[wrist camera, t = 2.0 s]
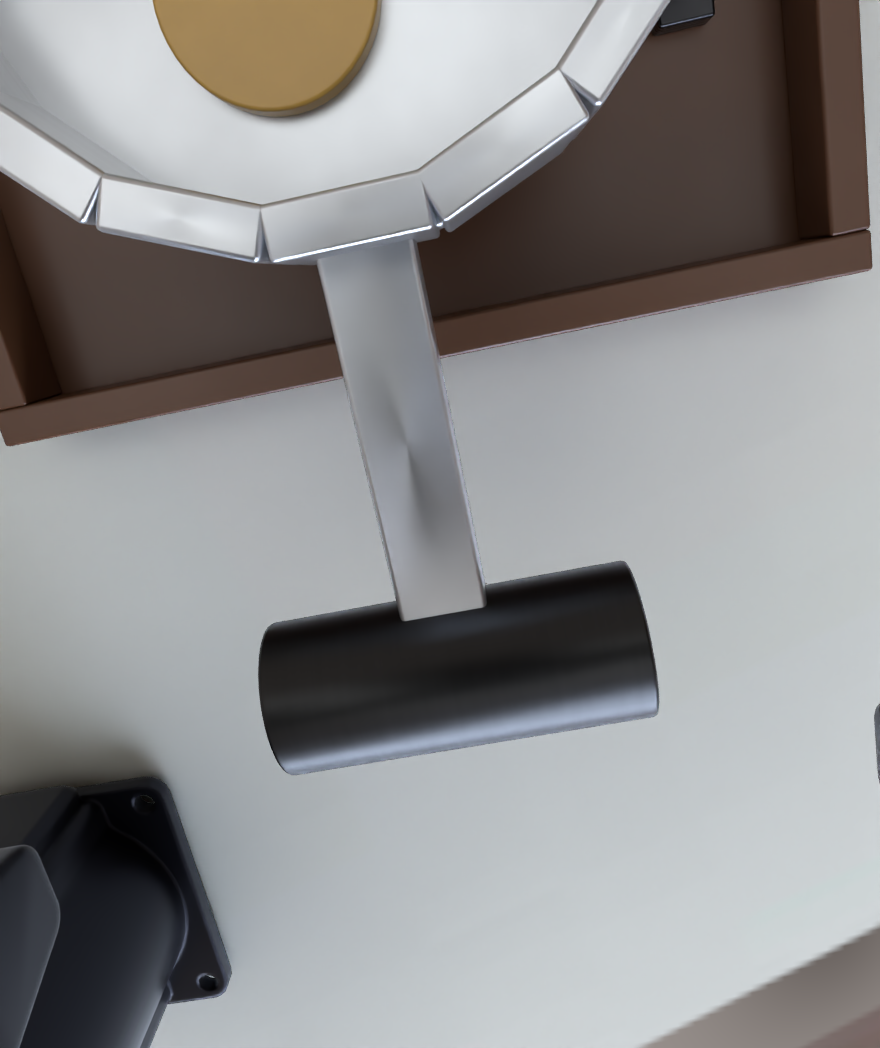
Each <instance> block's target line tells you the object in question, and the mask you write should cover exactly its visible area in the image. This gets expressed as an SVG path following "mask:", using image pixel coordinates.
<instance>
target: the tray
mask: <svg viewBox="0 0 880 1048" xmlns="http://www.w3.org/2000/svg"><path fill="white" fill-rule="evenodd" d="M714 4H715V15H714V16H713V17H712V18H711V19H710V20H709V21H708V22H707V23H706V24H705V25H702V26H698V27H693V28H689V29H685V30H680V31H676V32H672V33H668V34H663V35H659V36H653V34H652V32H650V33H649V35H648V36H647V38H646V39H645V41H644V43H643V44H642V46H641V47H640V49H639V50H638V52H637V53H636V55H635V56H634V58H633V59H632V61H631V62H630V64H629V66H628V67H627V69H626V70H625V72H624V73H623V75H622V76H621V78H620V79H619V81H618V82H617V84H616V86H615V87H614V89H613V90H612V92H611V93H610V95H609V96H608V98H607V99H606V101H605V102H604V104H603V105H602V106H601V107H600V109H599V110H598V111H597V112H596V114H595V115H594V116H593V117H592V118H591V120H590V121H589V122H588V123H587V124H586V126H585V127H584V128H583V129H582V131H581V132H580V133H579V134H578V135H577V137H576V138H575V139H573V140H572V141H571V142H570V143H569V144H568V146H567V147H566V148H565V149H564V151H563V152H562V153H561V154H560V155H558V156H557V157H555V158H554V159H553V160H551V161H550V162H548V163H547V164H546V165H544V166H543V167H541V168H540V169H539V170H537V171H536V172H534V173H533V174H532V175H530V176H529V177H527V178H526V179H525V180H523V181H522V182H520V183H519V184H518V185H516V186H515V187H513V188H512V189H511V190H509V191H508V192H506V193H505V194H504V195H502V196H501V197H499V198H498V199H497V200H495V201H494V202H492V203H491V204H490V205H488V206H487V207H485V208H484V209H483V210H481V211H480V212H479V213H477V214H476V215H474V216H473V217H472V218H470V219H469V220H467V221H466V222H465V223H463V224H462V225H460V226H459V227H458V228H456V229H455V230H453V231H452V232H448V231H446V230H445V228H443V229H440V236H439V237H438V238H436V239H432V240H427V241H422V242H418V243H417V246H418V251H419V256H420V261H421V266H422V271H423V276H424V281H425V286H426V291H427V296H428V301H429V306H430V311H431V316H432V321H433V326H434V331H435V335H436V340H437V345H438V350H439V355H440V358H445V357H450V356H454V355H459V354H464V353H469V352H474V351H479V350H484V349H489V348H494V347H498V346H503V345H508V344H513V343H518V342H523V341H528V340H533V339H538V338H542V337H547V336H552V335H557V334H562V333H567V332H572V331H577V330H582V329H587V328H591V327H596V326H601V325H606V324H611V323H616V322H621V321H626V320H631V319H635V318H640V317H645V316H650V315H655V314H660V313H665V312H670V311H675V310H679V309H684V308H689V307H694V306H699V305H704V304H709V303H714V302H719V301H723V300H728V299H733V298H738V297H743V296H748V295H753V294H758V293H763V292H768V291H772V290H777V289H782V288H787V287H792V286H797V285H802V284H807V283H812V282H816V281H821V280H826V279H831V278H836V277H841V276H846V275H851V274H856V273H860V272H865V271H869V270H870V269H872V251H871V233H870V231H869V230H866V229H868V228H869V226H870V215H869V195H868V175H867V155H866V134H865V114H864V94H863V74H862V53H861V33H860V13H859V0H714ZM342 378H344V377H343V373H342V369H341V365H340V360H339V356H338V352H337V348H336V343H335V339H334V335H333V331H332V326H331V322H330V318H329V314H328V309H327V305H326V301H325V297H324V292H323V288H322V284H321V280H320V275H319V271H318V267H317V264H316V265H300V264H298V265H286V264H264V263H252V262H247V261H242V260H237V259H232V258H227V257H222V256H217V255H212V254H207V253H202V252H197V251H192V250H187V249H182V248H177V247H172V246H167V245H162V244H157V243H152V242H148V241H143V240H138V239H133V238H128V237H123V236H118V235H113V234H108V233H103V232H101V231H99V230H98V229H97V228H96V225H89V224H82V223H79V222H77V221H76V220H74V219H73V218H71V217H70V216H68V215H66V214H65V213H63V212H62V211H60V210H59V209H57V208H56V207H54V206H53V205H51V204H50V203H48V202H47V201H45V200H44V199H42V198H40V197H39V196H37V195H36V194H34V193H33V192H31V191H30V190H28V189H27V188H25V187H24V186H22V185H21V184H19V183H18V182H16V181H14V180H13V179H11V178H10V177H8V176H7V175H5V174H4V173H2V172H1V171H0V431H1V433H2V436H3V439H4V442H5V444H6V445H7V446H14V445H19V444H24V443H29V442H34V441H39V440H44V439H48V438H53V437H58V436H63V435H68V434H73V433H78V432H83V431H88V430H92V429H97V428H102V427H107V426H112V425H117V424H122V423H127V422H132V421H136V420H141V419H146V418H151V417H156V416H161V415H166V414H171V413H176V412H180V411H185V410H190V409H195V408H200V407H205V406H210V405H215V404H220V403H225V402H229V401H234V400H239V399H244V398H249V397H254V396H259V395H264V394H269V393H273V392H278V391H283V390H288V389H293V388H298V387H303V386H308V385H313V384H317V383H322V382H327V381H332V380H337V379H342Z"/></svg>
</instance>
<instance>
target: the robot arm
mask: <svg viewBox="0 0 880 1048" xmlns="http://www.w3.org/2000/svg"><path fill="white" fill-rule="evenodd" d="M874 722H875V737H876V753H877V769H878V778H879V782H880V704H879V705H878V706H877V708H876V711H875V715H874ZM140 795H147V796H149V797H150V798H152V799H153V801H154V802H155V803H148V802H146V801H144V800H143V799H142V797H141V796H140ZM231 974H232V972H231V966H230V963H229V960H228V957H227V954H226V951H225V949H224V946H223V943H222V940H221V937H220V934H219V931H218V928H217V925H216V923H215V920H214V917H213V914H212V911H211V908H210V905H209V902H208V899H207V897H206V894H205V891H204V888H203V885H202V882H201V879H200V876H199V873H198V871H197V868H196V865H195V862H194V859H193V856H192V853H191V850H190V847H189V845H188V842H187V839H186V836H185V833H184V830H183V827H182V824H181V822H180V819H179V816H178V813H177V810H176V807H175V804H174V801H173V798H172V796H171V793H170V790H169V789H168V787H167V785H166V784H165V783H164V782H162V781H161V780H160V779H157V778H154V777H140V778H134V779H128V780H122V781H116V782H110V783H103V784H97V785H91V786H85V787H79V788H73V787H68V786H57V787H51V788H45V789H39V790H33V791H27V792H21V793H15V794H9V795H3V796H0V1048H150V1045H151V1043H152V1040H153V1038H154V1035H155V1033H156V1031H157V1028H158V1026H159V1023H160V1021H161V1018H162V1016H163V1013H164V1011H165V1008H166V1006H167V1004H172V1003H179V1002H187V1001H194V1000H201V999H208V998H214V997H218V996H221V995H222V994H223V993H224V992H225V991H226V988H227V986H228V983H229V980H230V977H231ZM207 975H211V976H213V977H215V978H211V977H209V976H207Z"/></svg>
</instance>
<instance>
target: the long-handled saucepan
mask: <svg viewBox="0 0 880 1048" xmlns="http://www.w3.org/2000/svg"><path fill="white" fill-rule="evenodd" d="M670 1H671V0H382V1H381V12H380V20H379V24H378V29H377V34H376V36H375V39H374V42H373V45H372V48H371V50H370V52H369V54H368V57H367V59H366V61H365V63H364V64H363V66H362V67H361V69H360V70H359V72H358V73H357V75H356V76H355V77H354V78H353V80H352V81H351V82H350V83H349V84H348V86H347V87H346V88H344V89H343V90H342V91H341V92H340V93H339V94H338V95H337V96H335V97H334V98H332V99H331V100H329V101H328V102H326V103H325V104H323V105H321V106H319V107H317V108H315V109H313V110H310V111H307V112H304V113H301V114H297V115H291V116H283V117H269V116H262V115H255V114H252V113H248V112H245V111H242V110H239V109H237V108H235V107H233V106H230V105H228V104H227V103H225V102H223V101H222V100H220V99H218V98H217V97H215V96H214V95H212V94H211V93H210V92H208V91H207V90H206V89H205V88H203V87H202V86H201V85H200V84H198V83H197V82H196V81H195V80H194V79H193V78H192V77H191V76H190V75H189V74H188V73H187V72H186V71H185V69H184V68H183V67H182V66H181V64H180V63H179V62H178V60H177V59H176V58H175V56H174V54H173V53H172V51H171V49H170V48H169V46H168V44H167V42H166V40H165V38H164V36H163V34H162V31H161V29H160V26H159V23H158V20H157V17H156V14H155V10H154V6H153V1H152V0H0V171H1V172H2V173H4V174H5V175H7V176H8V177H10V178H11V179H13V180H14V181H16V182H18V183H19V184H21V185H22V186H24V187H25V188H27V189H28V190H30V191H31V192H33V193H34V194H36V195H37V196H39V197H40V198H42V199H44V200H45V201H47V202H48V203H50V204H51V205H53V206H54V207H56V208H57V209H59V210H60V211H62V212H63V213H65V214H66V215H68V216H70V217H71V218H73V219H74V220H76V221H77V222H79V223H82V224H89V225H96V228H97V229H98V230H99V231H101V232H103V233H108V234H113V235H118V236H123V237H128V238H133V239H138V240H143V241H148V242H152V243H157V244H162V245H167V246H172V247H177V248H182V249H187V250H192V251H197V252H202V253H207V254H212V255H217V256H222V257H227V258H232V259H237V260H242V261H247V262H252V263H264V264H286V265H298V264H300V265H316V264H317V267H318V271H319V275H320V280H321V284H322V288H323V292H324V297H325V301H326V305H327V309H328V314H329V318H330V322H331V326H332V331H333V335H334V339H335V343H336V348H337V352H338V356H339V360H340V365H341V369H342V373H343V377H344V382H345V386H346V390H347V394H348V398H349V403H350V407H351V411H352V415H353V420H354V424H355V428H356V432H357V437H358V441H359V445H360V449H361V454H362V458H363V462H364V466H365V471H366V475H367V479H368V483H369V488H370V492H371V496H372V500H373V505H374V509H375V513H376V517H377V521H378V526H379V530H380V534H381V538H382V543H383V547H384V551H385V555H386V560H387V564H388V568H389V572H390V577H391V581H392V585H393V589H394V594H395V598H396V601H393V602H388V603H382V604H377V605H371V606H366V607H360V608H354V609H349V610H343V611H338V612H332V613H327V614H321V615H315V616H310V617H304V618H299V619H293V620H287V621H282V622H276V623H273V624H272V625H270V626H269V627H268V628H267V630H266V631H265V633H264V636H263V639H262V642H261V647H260V654H259V667H258V680H259V695H260V704H261V711H262V716H263V721H264V726H265V730H266V733H267V737H268V740H269V743H270V746H271V749H272V751H273V754H274V756H275V758H276V760H277V762H278V763H279V765H280V766H281V768H282V769H283V770H284V771H285V772H287V773H288V774H291V775H299V774H305V773H311V772H318V771H324V770H330V769H336V768H342V767H348V766H354V765H361V764H367V763H373V762H379V761H385V760H391V759H398V758H404V757H410V756H416V755H422V754H428V753H435V752H441V751H447V750H453V749H459V748H465V747H471V746H478V745H484V744H490V743H496V742H502V741H508V740H515V739H521V738H527V737H533V736H539V735H545V734H551V733H558V732H564V731H570V730H576V729H582V728H588V727H595V726H601V725H607V724H613V723H619V722H625V721H631V720H638V719H644V718H650V717H654V716H656V715H657V713H658V709H659V689H658V679H657V671H656V665H655V659H654V653H653V648H652V642H651V638H650V633H649V628H648V624H647V620H646V616H645V612H644V608H643V604H642V600H641V597H640V594H639V590H638V587H637V584H636V582H635V579H634V576H633V574H632V572H631V570H630V568H629V566H628V565H627V563H626V562H624V561H616V562H611V563H605V564H600V565H594V566H589V567H583V568H577V569H572V570H566V571H561V572H555V573H550V574H544V575H538V576H533V577H527V578H522V579H516V580H510V581H505V582H499V583H494V584H488V585H485V580H484V575H483V570H482V565H481V560H480V555H479V550H478V545H477V540H476V535H475V530H474V525H473V520H472V515H471V510H470V505H469V500H468V495H467V490H466V485H465V480H464V475H463V470H462V465H461V460H460V455H459V450H458V445H457V440H456V435H455V430H454V425H453V420H452V415H451V410H450V405H449V400H448V395H447V390H446V385H445V380H444V375H443V370H442V365H441V360H440V355H439V350H438V345H437V340H436V335H435V331H434V326H433V321H432V316H431V311H430V306H429V301H428V296H427V291H426V286H425V281H424V276H423V271H422V266H421V261H420V256H419V251H418V246H417V243H418V242H422V241H427V240H432V239H436V238H438V237H439V236H440V229H443V228H445V230H446V231H448V232H452V231H453V230H455V229H456V228H458V227H459V226H460V225H462V224H463V223H465V222H466V221H467V220H469V219H470V218H472V217H473V216H474V215H476V214H477V213H479V212H480V211H481V210H483V209H484V208H485V207H487V206H488V205H490V204H491V203H492V202H494V201H495V200H497V199H498V198H499V197H501V196H502V195H504V194H505V193H506V192H508V191H509V190H511V189H512V188H513V187H515V186H516V185H518V184H519V183H520V182H522V181H523V180H525V179H526V178H527V177H529V176H530V175H532V174H533V173H534V172H536V171H537V170H539V169H540V168H541V167H543V166H544V165H546V164H547V163H548V162H550V161H551V160H553V159H554V158H555V157H557V156H558V155H560V154H561V153H562V152H563V151H564V149H565V148H566V147H567V146H568V144H569V143H570V142H571V141H572V140H573V139H575V138H576V137H577V135H578V134H579V133H580V132H581V131H582V129H583V128H584V127H585V126H586V124H587V123H588V122H589V121H590V120H591V118H592V117H593V116H594V115H595V114H596V112H597V111H598V110H599V109H600V107H601V106H602V105H603V104H604V102H605V101H606V99H607V98H608V96H609V95H610V93H611V92H612V90H613V89H614V87H615V86H616V84H617V82H618V81H619V79H620V78H621V76H622V75H623V73H624V72H625V70H626V69H627V67H628V66H629V64H630V62H631V61H632V59H633V58H634V56H635V55H636V53H637V52H638V50H639V49H640V47H641V46H642V44H643V43H644V41H645V39H646V38H647V36H648V35H649V33H650V32H651V30H652V29H653V27H654V26H655V24H656V23H657V21H658V19H659V18H660V16H661V15H662V13H663V12H664V10H665V9H666V7H667V6H668V4H669V3H670Z"/></svg>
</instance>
